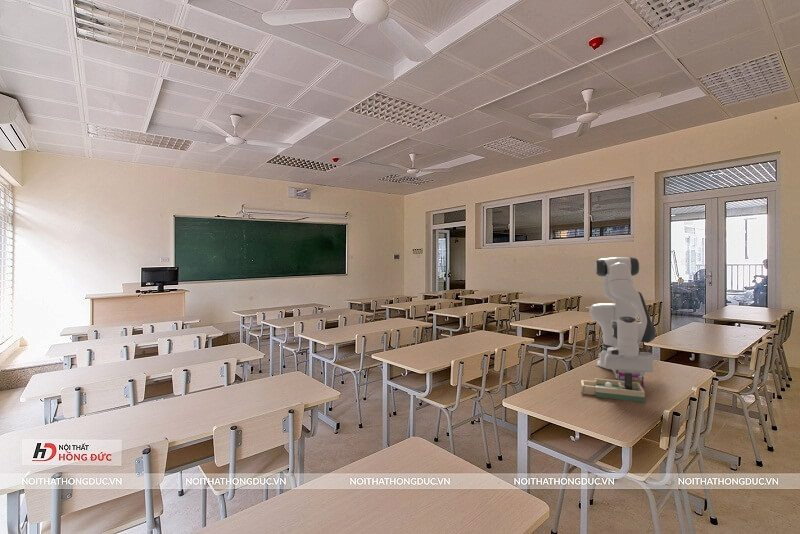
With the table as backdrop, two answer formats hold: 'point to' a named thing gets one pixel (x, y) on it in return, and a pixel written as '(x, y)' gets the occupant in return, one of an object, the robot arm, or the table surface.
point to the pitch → (613, 390)
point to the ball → (608, 385)
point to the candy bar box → (634, 376)
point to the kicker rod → (626, 382)
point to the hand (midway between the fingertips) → (628, 379)
